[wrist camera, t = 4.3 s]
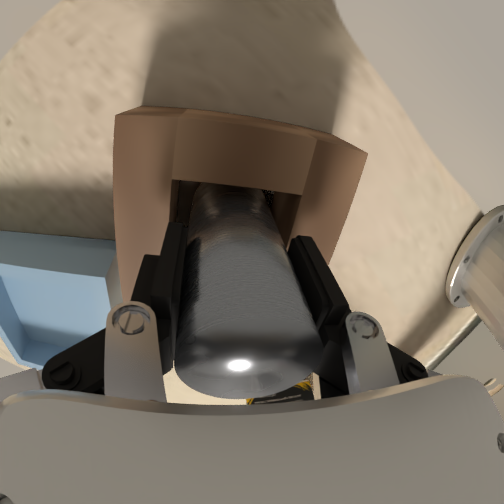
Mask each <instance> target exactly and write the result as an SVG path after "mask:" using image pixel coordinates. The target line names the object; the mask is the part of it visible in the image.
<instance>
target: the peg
mask: <svg viewBox="0 0 504 504" xmlns="http://www.w3.org/2000/svg"><path fill="white" fill-rule="evenodd" d="M322 356H323V344H322V341H321V338H320V335H319V333H318V330H317V327H316V325H315V322H314V319H313V317H312V314H311V311H310V309H309V306H308V303H307V301H306V298H305V296H304V293H303V290H302V288H301V285H300V283H299V280H298V278H297V275H296V272H295V270H294V267H293V265H292V262H291V260H290V257H289V255H288V252H287V250H286V247H285V245H284V243H283V240H282V238H281V235H280V233H279V230H278V228H277V225H276V223H275V221H274V218H273V216H272V213H271V211H270V209H269V206H268V204H267V201H266V199H265V197H264V194H263V192H262V190H261V189H257V188H249V187H242V186H233V185H225V184H216V183H207V182H202V183H201V184H200V185H199V186H198V188H197V189H196V191H195V193H194V196H193V201H192V207H191V213H190V220H189V226H188V237H187V249H186V257H185V265H184V274H183V284H182V294H181V304H180V315H179V324H178V327H177V332H176V344H175V359H174V366H175V371H176V373H177V375H178V376H179V378H180V379H181V380H182V381H183V382H184V383H185V384H186V385H188V386H189V387H190V388H192V389H194V390H196V391H198V392H200V393H203V394H206V395H210V396H214V397H219V398H227V399H249V398H257V397H263V396H267V395H271V394H275V393H278V392H281V391H283V390H286V389H288V388H290V387H292V386H294V385H296V384H298V383H299V382H301V381H302V380H304V379H305V378H306V377H308V376H309V375H310V374H311V373H312V372H313V371H314V370H315V369H316V367H317V366H318V365H319V363H320V361H321V359H322Z"/></svg>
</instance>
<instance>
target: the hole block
mask: <svg viewBox="0 0 504 504" xmlns="http://www.w3.org/2000/svg"><path fill="white" fill-rule="evenodd" d="M367 156H368V153H366V152H364V151H363V150H361V149H359V148H357V147H355V146H353V145H352V144H350V143H348V142H346V141H344V140H342V139H340V138H338V137H336V136H334V135H332V134H329V133H325V132H321V131H317V130H313V129H309V128H305V127H301V126H296V125H292V124H287V123H282V122H277V121H272V120H267V119H262V118H256V117H250V116H244V115H237V114H230V113H223V112H215V111H206V110H197V109H186V108H172V107H153V106H140V107H137V108H134V109H131V110H128V111H125V112H123V113H120V114H117V115H115V127H114V146H113V206H114V225H115V239H116V251H117V260H118V269H119V277H120V285H121V292H122V298H123V302H128V301H130V300H131V296H132V293H133V289H134V286H135V283H136V279H137V276H138V273H139V269H140V266H141V263H142V260H143V257H144V255H145V254H150V255H160V252H161V248H162V244H163V241H164V237H165V233H166V230H167V226H168V223H169V222H176V217H177V203H178V191H179V180H186V181H197V182H207V183H216V184H225V185H233V186H242V187H249V188H257V189H264V190H271V191H274V195H273V199H272V204H271V208H270V211H271V213H272V216H273V218H274V221H275V223H276V225H277V228H278V230H279V233H280V235H281V238H282V240H283V243H284V245H285V247H286V250H287V251H288V248H289V245H290V242H291V239H292V238H296V236H297V235H302V236H310V237H312V238H313V240H314V242H315V243H316V245H317V247H318V249H319V250H320V252H321V254H322V256H323V258H324V259H325V261H326V263H327V265H328V264H329V262H330V259H331V257H332V254H333V252H334V249H335V247H336V244H337V242H338V239H339V236H340V234H341V231H342V229H343V226H344V223H345V220H346V218H347V215H348V212H349V209H350V207H351V204H352V201H353V198H354V195H355V192H356V189H357V186H358V183H359V180H360V177H361V174H362V171H363V168H364V165H365V162H366V159H367Z"/></svg>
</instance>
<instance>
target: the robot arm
mask: <svg viewBox="0 0 504 504" xmlns="http://www.w3.org/2000/svg"><path fill="white" fill-rule="evenodd" d="M187 237H188V227H183V223H176V222H169V223H168V226H167V230H166V233H165V237H164V241H163V244H162V248H161V252H160V255H150V254H145V255H144V257H143V260H142V263H141V266H140V269H139V273H138V276H137V279H136V283H135V286H134V289H133V293H132V296H131V300H130V301H128V302H123V303H120V304H118V305H116V306H115V307H113V308H112V309H111V310H110V312H109V313H108V316H107V319H106V328H104V329H102V330H100V331H99V332H97V333H95V334H93V335H91V336H89V337H88V338H86V339H84V340H82V341H80V342H78V343H77V344H75V345H73V346H71V347H69V348H68V349H66V350H64V351H62V352H60V353H58V354H57V355H55V356H53V357H52V358H50V359H49V360H48V361H47V362H46V364H45V365H44V367H43V369H41V370H38V371H37V369H36V368H32V369H29V370H26V371H22V372H20V373H16V374H13V375H9V376H6V377H3V378H0V504H504V422H503V420H502V418H501V415H500V413H499V411H498V409H497V407H496V405H495V403H494V401H493V400H492V398H491V396H490V394H489V393H488V391H487V390H486V388H485V387H484V385H483V384H482V383H481V382H479V381H478V380H476V379H474V378H471V377H468V376H463V375H442V374H440V373H437V372H434V371H431V370H429V369H428V370H427V371H426V369H425V367H424V366H423V365H422V364H421V363H420V362H419V361H418V360H416V359H415V358H413V357H411V356H409V355H408V354H406V353H404V352H403V351H401V350H399V349H398V348H396V347H394V346H392V345H391V344H389V343H387V341H386V338H385V336H384V333H383V330H382V327H381V325H380V324H379V322H378V321H377V320H376V319H375V318H373V317H372V316H370V315H368V314H366V313H363V312H351V310H350V308H349V304H348V302H347V300H346V298H345V297H344V295H343V293H342V291H341V289H340V287H339V285H338V283H337V281H336V280H335V278H334V276H333V274H332V272H331V270H330V268H329V267H328V265H327V263H326V261H325V259H324V258H323V256H322V254H321V252H320V250H319V249H318V247H317V245H316V243H315V242H314V240H313V238H312V237H310V236H302V235H297V236H296V238H292V239H291V242H290V245H289V248H288V251H287V252H288V255H289V257H290V260H291V262H292V265H293V267H294V270H295V272H296V275H297V278H298V280H299V283H300V285H301V288H302V290H303V293H304V296H305V298H306V301H307V303H308V306H309V309H310V311H311V314H312V317H313V319H314V322H315V325H316V327H317V330H318V333H319V335H320V338H321V341H322V344H323V356H322V359H321V361H320V363H319V365H318V366H317V367H316V369H315V370H314V371H313V387H314V400H309V401H299V402H288V403H275V404H255V405H197V404H178V403H167V400H166V394H165V388H164V381H163V375H164V374H166V373H167V372H169V371H170V370H171V368H173V360H174V359H175V344H176V332H177V327H178V324H179V315H180V304H181V294H182V284H183V274H184V265H185V257H186V249H187ZM445 292H446V296H447V298H448V300H449V301H450V302H451V304H452V305H453V306H455V307H458V308H463V307H467V306H470V305H471V306H472V308H473V309H474V310H475V312H476V313H477V314H478V316H479V317H480V318H481V320H482V321H483V322H484V324H485V325H486V326H487V328H488V329H489V330H490V332H491V333H492V335H493V336H494V338H495V339H496V341H497V342H498V343H499V345H500V347H501V348H502V350H503V351H504V205H501V206H498V207H496V208H494V209H493V210H491V211H489V212H488V213H487V214H486V215H485V216H483V217H482V218H481V220H480V221H479V222H478V223H477V224H476V225H475V226H474V228H473V229H472V230H471V231H470V233H469V234H468V236H467V237H466V239H465V240H464V242H463V243H462V245H461V247H460V248H459V250H458V252H457V254H456V256H455V258H454V260H453V262H452V264H451V267H450V270H449V273H448V276H447V281H446V291H445Z"/></svg>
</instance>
